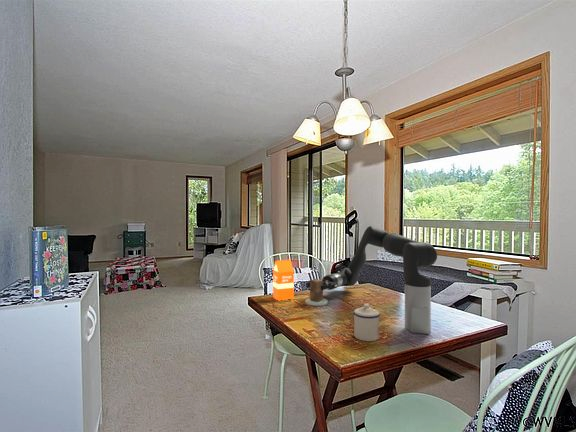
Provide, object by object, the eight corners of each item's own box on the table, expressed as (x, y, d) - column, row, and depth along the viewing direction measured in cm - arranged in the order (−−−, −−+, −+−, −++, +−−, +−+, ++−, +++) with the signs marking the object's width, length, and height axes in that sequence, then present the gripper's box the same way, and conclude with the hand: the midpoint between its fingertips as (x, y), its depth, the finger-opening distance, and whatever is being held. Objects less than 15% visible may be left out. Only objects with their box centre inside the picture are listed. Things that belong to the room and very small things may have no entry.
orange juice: (293, 299, 163) (293, 260, 163) (278, 301, 159) (277, 261, 159) (288, 295, 170) (288, 258, 170) (272, 297, 167) (272, 259, 166)
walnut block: (322, 300, 156) (322, 280, 156) (317, 302, 153) (317, 281, 153) (315, 298, 159) (315, 278, 159) (310, 300, 156) (310, 280, 156)
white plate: (326, 306, 150) (326, 304, 150) (303, 305, 152) (303, 302, 152) (328, 300, 160) (328, 297, 160) (307, 299, 163) (307, 296, 163)
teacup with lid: (384, 340, 110) (384, 307, 109) (360, 343, 108) (360, 309, 108) (369, 328, 121) (369, 298, 121) (346, 330, 120) (346, 299, 119)
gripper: (321, 272, 171) (302, 277, 159) (344, 276, 162) (326, 281, 150) (321, 286, 172) (302, 291, 159) (344, 290, 162) (326, 296, 150)
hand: (314, 286), depth 155 cm, fingers open, 8 cm apart
